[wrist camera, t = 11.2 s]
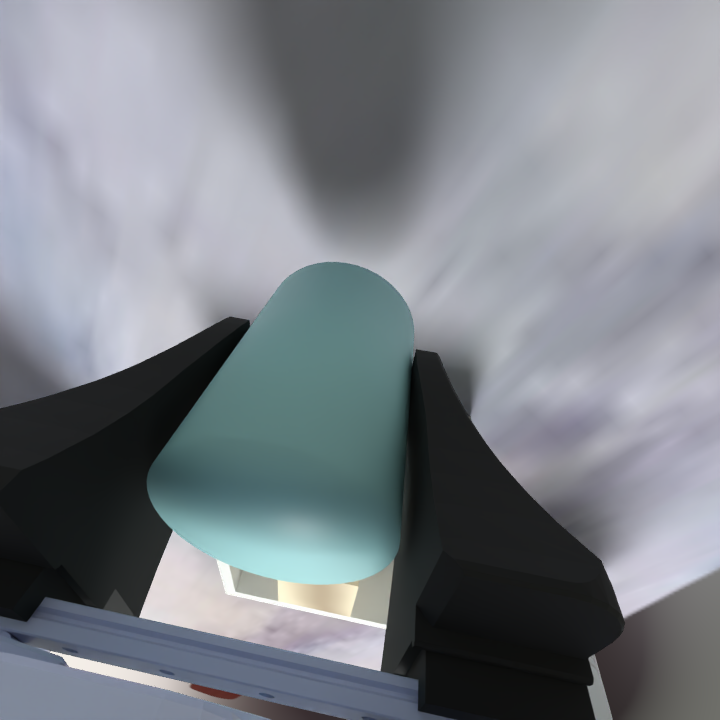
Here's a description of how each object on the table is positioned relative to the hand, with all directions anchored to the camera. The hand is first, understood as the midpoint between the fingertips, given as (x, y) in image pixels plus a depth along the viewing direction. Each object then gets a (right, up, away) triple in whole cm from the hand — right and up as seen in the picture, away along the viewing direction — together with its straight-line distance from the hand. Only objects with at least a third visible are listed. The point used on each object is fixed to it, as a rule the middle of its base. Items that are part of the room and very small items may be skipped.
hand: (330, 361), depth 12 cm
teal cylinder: (0, +1, +1) cm, 2 cm away
